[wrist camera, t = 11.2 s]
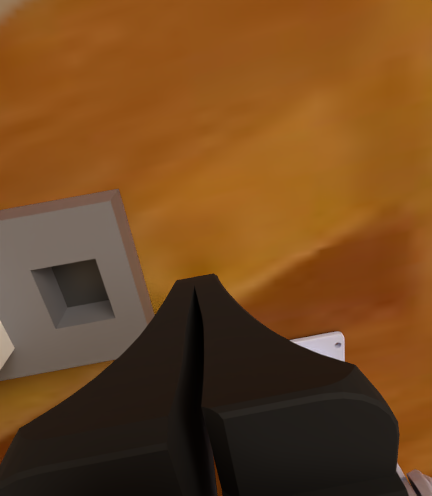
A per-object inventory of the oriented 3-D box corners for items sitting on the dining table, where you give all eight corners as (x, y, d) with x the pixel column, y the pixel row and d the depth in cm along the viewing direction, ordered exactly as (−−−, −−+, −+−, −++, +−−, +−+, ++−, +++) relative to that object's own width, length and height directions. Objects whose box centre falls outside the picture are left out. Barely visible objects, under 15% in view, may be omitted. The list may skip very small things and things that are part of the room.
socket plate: (158, 327, 24) (155, 351, 22) (-42, 364, 24) (-66, 393, 22) (118, 188, 20) (110, 200, 18) (-123, 232, 20) (-162, 249, 18)
